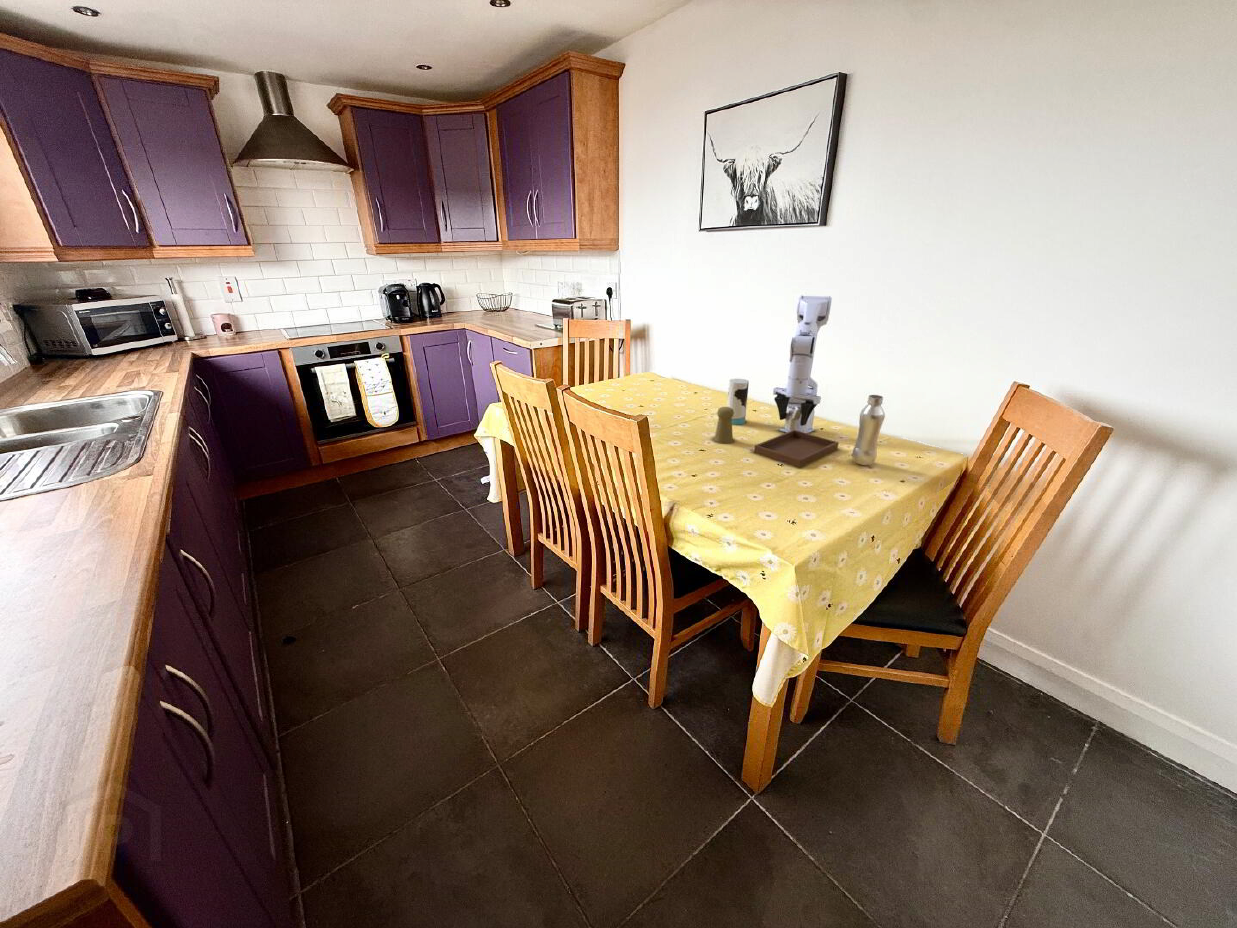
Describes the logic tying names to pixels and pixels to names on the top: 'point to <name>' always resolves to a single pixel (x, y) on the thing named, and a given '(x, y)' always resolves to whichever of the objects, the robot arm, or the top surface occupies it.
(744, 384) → the cup
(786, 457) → the tray
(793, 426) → the lighter
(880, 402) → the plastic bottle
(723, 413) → the pawn
